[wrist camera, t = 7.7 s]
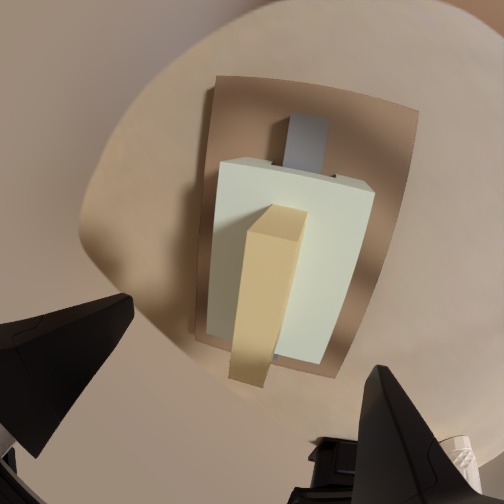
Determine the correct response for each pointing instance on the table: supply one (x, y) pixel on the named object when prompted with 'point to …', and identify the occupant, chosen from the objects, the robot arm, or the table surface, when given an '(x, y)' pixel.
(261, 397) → the table surface
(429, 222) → the table surface
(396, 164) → the board
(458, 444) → the white cup
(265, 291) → the sage block
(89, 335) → the robot arm
